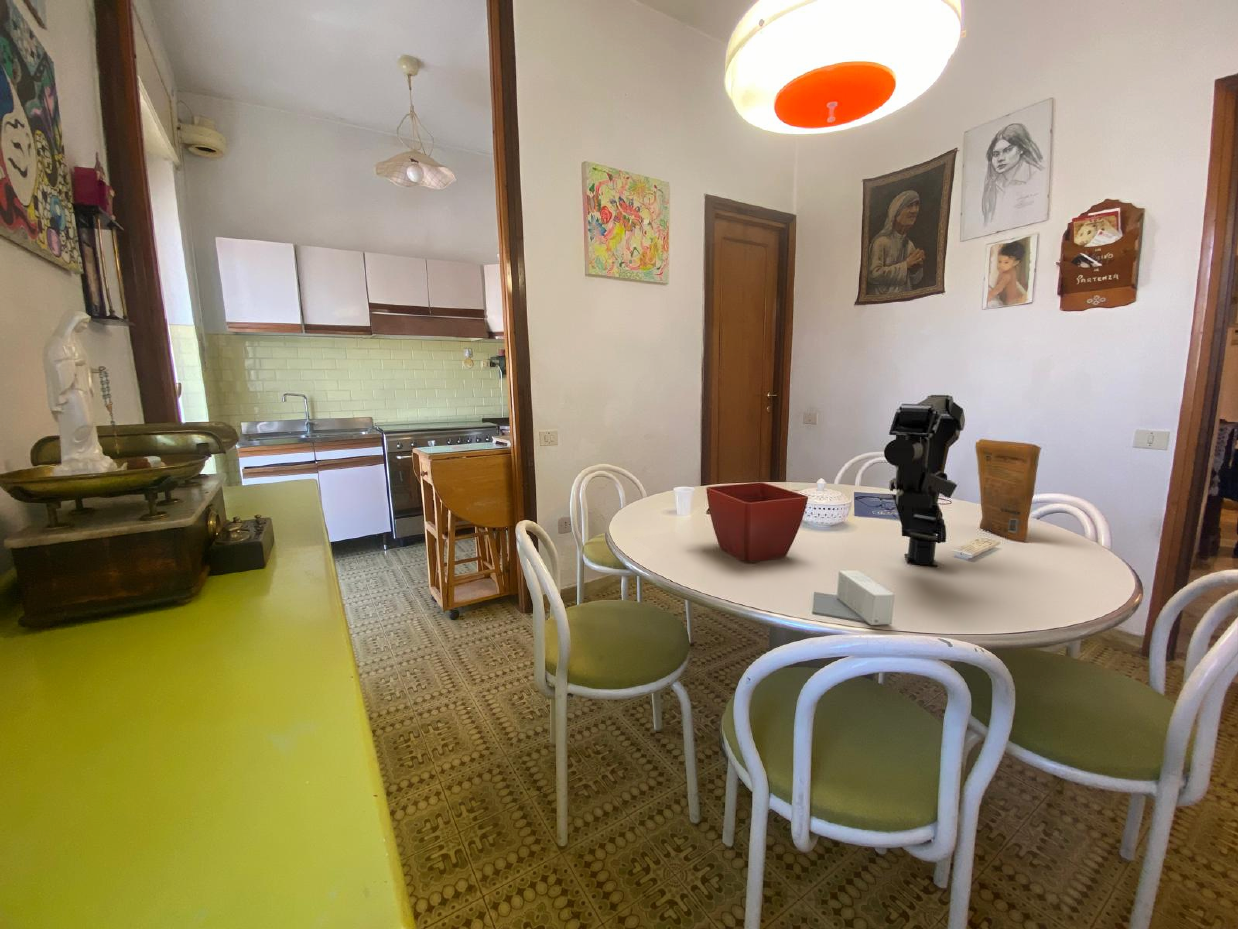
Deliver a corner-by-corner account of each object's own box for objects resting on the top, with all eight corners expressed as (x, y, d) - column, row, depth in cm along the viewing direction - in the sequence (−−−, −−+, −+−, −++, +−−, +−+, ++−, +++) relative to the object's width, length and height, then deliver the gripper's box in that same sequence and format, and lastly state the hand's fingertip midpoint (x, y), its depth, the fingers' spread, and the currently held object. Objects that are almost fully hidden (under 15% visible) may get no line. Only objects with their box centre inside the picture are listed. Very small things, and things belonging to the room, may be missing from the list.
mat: (814, 593, 105) (814, 591, 105) (871, 602, 101) (871, 600, 101) (812, 613, 96) (812, 611, 96) (875, 624, 92) (875, 622, 92)
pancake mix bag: (1016, 545, 136) (1030, 445, 131) (963, 525, 155) (973, 437, 150) (1039, 544, 136) (1053, 444, 132) (983, 524, 155) (994, 437, 150)
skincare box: (855, 596, 103) (892, 625, 91) (835, 597, 102) (870, 626, 90) (857, 569, 101) (895, 594, 90) (838, 570, 101) (873, 595, 89)
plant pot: (806, 560, 125) (810, 495, 122) (744, 570, 118) (747, 502, 115) (759, 538, 143) (762, 481, 140) (702, 546, 136) (704, 487, 133)
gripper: (966, 470, 96) (957, 546, 99) (946, 457, 113) (939, 522, 116) (901, 466, 101) (894, 539, 103) (891, 454, 118) (886, 517, 120)
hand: (905, 529), depth 110 cm, fingers closed
